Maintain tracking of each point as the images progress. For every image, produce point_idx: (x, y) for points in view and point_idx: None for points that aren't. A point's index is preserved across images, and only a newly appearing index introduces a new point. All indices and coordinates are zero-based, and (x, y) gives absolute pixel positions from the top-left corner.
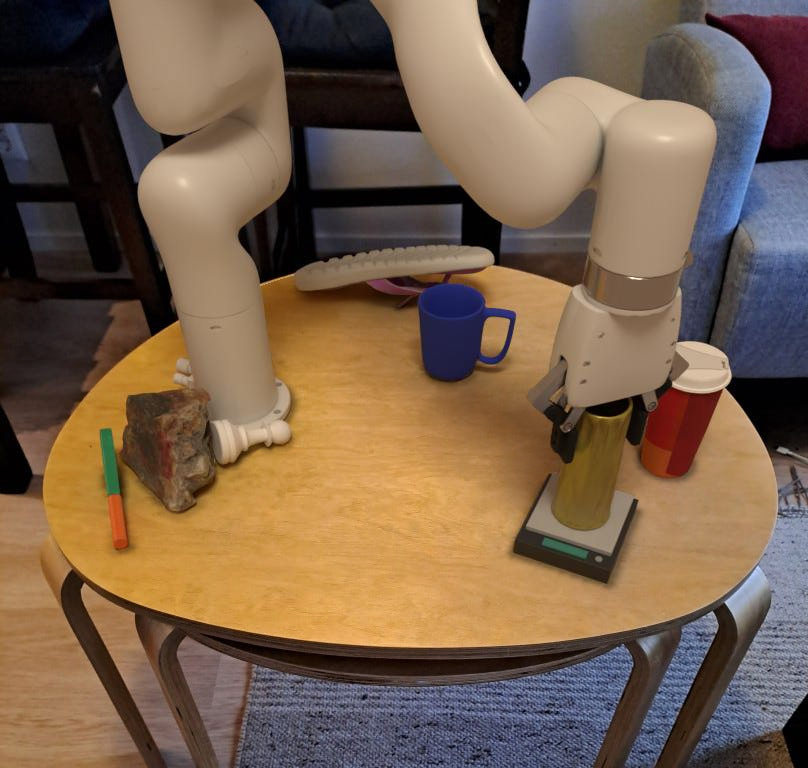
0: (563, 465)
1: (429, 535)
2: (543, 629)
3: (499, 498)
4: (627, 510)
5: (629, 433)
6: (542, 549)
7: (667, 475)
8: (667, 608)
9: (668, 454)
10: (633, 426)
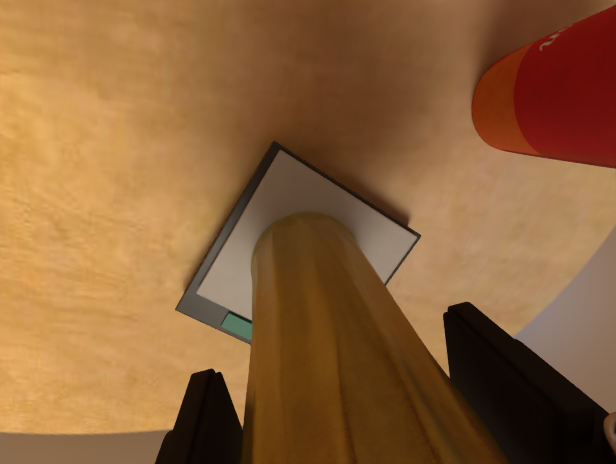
0: (253, 324)
1: (27, 243)
2: None
3: (172, 162)
4: (390, 273)
5: (465, 388)
6: (221, 330)
7: (500, 149)
8: None
9: (531, 151)
10: (492, 430)
